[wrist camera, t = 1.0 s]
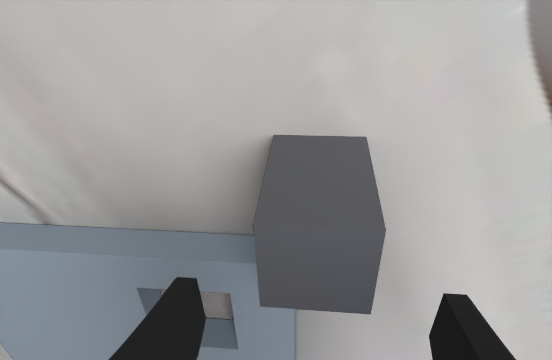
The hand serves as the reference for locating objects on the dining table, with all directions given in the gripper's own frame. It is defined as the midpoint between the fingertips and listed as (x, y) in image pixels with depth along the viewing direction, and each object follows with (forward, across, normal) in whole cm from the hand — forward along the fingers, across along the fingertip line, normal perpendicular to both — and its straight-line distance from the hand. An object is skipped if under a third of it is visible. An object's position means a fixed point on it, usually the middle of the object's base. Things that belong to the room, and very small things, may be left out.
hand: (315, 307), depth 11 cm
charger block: (+7, 0, 0) cm, 7 cm away
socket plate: (+7, +11, +11) cm, 17 cm away
